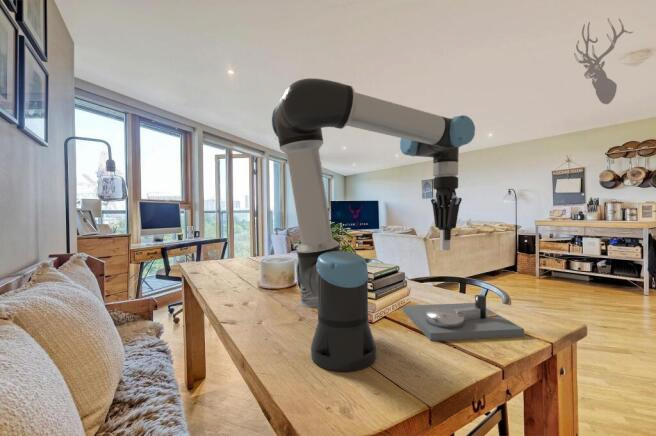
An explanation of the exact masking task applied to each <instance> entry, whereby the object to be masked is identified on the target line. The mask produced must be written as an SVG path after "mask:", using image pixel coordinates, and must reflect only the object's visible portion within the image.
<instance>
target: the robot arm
mask: <svg viewBox="0 0 656 436" xmlns="http://www.w3.org/2000/svg"><path fill="white" fill-rule="evenodd" d="M474 123H475V122H474V121H473V120H472V118H470V117H469V116H467V115H465V114H462V115H458V116H454V117H452V118H449V117H445V116H441V115H437V114H434V113H431V112H428V111H424V110H419V109H416V108H412V107H410V106H406V105H403V104H398V103H394V102H392V101H388V100H385V99H381V98H377V97H373V96H370V95H366V94H362V93H359V92H355V88H353V86H352V85H348V84H345V83H341V82H338V81H334V80H328V79H322V78H302V79H299V80H297V81H295V82H293V83H292V84H290V85H289V86H288V87H287V88H286V89H285V91H284V93H283V95H282V97H281V98H280V99H279V101H278V102H277V103H276V105H275V107H274V108H273V112H272V115H271V127H272V130H273V132H274V134H275V136H276V137H277V138H278V145H279V149H280V150H281V151H282V152H283V153H284V154H285V155H286V158H287V163H288V169H289V170H288V171H289V177H290V183H291V187H292V195H293V200H294V207H295V213H296V218H297V225H298V231H299V237H300V244H299V245H298V247H297V249H296V254H297V260H298V261H297V262H296V263H297V264H296V276H297V279H298V282H299V283H300V285H301V284H302V286H303V287H304V288H305V289H304V290H308V292H311V293H312V294H313V295H315V296H316V297H317V298H318V307H317V324H316V328H315V331H314V335H313V338H312V341H311V345H310V356H311V360H312V361H313V362H314V363H315V364H316V365H317V366H319V367H320V368H323V369H327V370H329V371H336V372H353V371H358V370H363V369H366V368H367V367H369V366H371V365H372V364H373V363H375V361H376V358H377V345H376V342H375V338H374V336H373V334H372V330H371V327H370V324H369V286H368V285H369V280H368V279H369V271H368V262H367V260H366V259H365V258H364V257H363V256H362V255H361V254H359V253H356V252H349V251H341V248H340V243H339V242H338V241H337V240H336V239H334V238H333V233H332V227H331V220H330V213H329V207H328V200H327V195H326V188H325V182H324V176H323V169H322V163H321V156H320V149H321V148H322V146H323V144H324V139H323V131H322V128H336V129H340V130H343V129H344V128H345V127H351V128H355V129H359V130H364V131H369V132H373V133H378V134H381V135H382V134H383V135H386V136H391V137H396V138H399V139H400V141H399V148H400V151H401V153H402V154H403V155H405V156H410V157H423V158H424V157H425V158H432V161H433V162H432V163H433V165H432V166H433V167H432V176H433V177H434V178H433V180H432V182H433V183H432V185H433V186H432V188H433V189H434V190H436V192H435V197H434V198H431V200H430V202H431V206H432V210H433V212H432V213H433V219H434V226H435V228H438V230H439V250H440V251H451V239H452V235H451V233H452V230H453V229H456V228H457V222H458V216H459V210H460V205H461V202H462V197H459V196H457V192H456V190H458V189H459V177H458V175H459V155H460V154H459V152H460V151H459V149H460V147H463V146H465V145H468V144H470V143H471V142H472V141H473V139H474V137H475V134H476V126H475V124H474Z"/></svg>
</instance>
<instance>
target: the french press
mask: <svg viewBox="0 0 656 436" xmlns="http://www.w3.org/2000/svg"><path fill="white" fill-rule="evenodd" d="M297 304H298V306H300V307H303V308H318V298H317V297H316V296H315V295H313V294H312V293H311V292H309V291H308V290H306V289H305V288H304V287H303V286H302V284H301V283H300V300H299V302H298V303H297Z"/></svg>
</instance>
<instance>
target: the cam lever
mask: <svg viewBox="0 0 656 436" xmlns="http://www.w3.org/2000/svg"><path fill="white" fill-rule="evenodd" d="M474 299H475V301H474V303H475V307H467V308H459V309H452V308H445V307H434V308H429V309H427V310H426V321H427V322H428V323H429V324H431V325H433V326H436V327H441V328H449V329H454V328H460V327H463V326H464V320H472V319H479V318H482V319H484V318H486V308H487V296H485V295H483V294H476V295H474Z"/></svg>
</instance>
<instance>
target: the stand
mask: <svg viewBox="0 0 656 436" xmlns="http://www.w3.org/2000/svg"><path fill="white" fill-rule="evenodd" d="M402 306H403V307H402V308H403V309H402V310H403V314H404V315H406V316H407V317H408V318H409V319H410V320H411V321H412V323H413V324H414V325H415V326H416V327H417V329H419V330H420V332H422V333H423V335H425V336H426V338H427V339H428V340H429V341H430V342H435V341H436V342H437V341H456V340H457V341H458V340H459V341H460V340H477V339H496V338H497V339H500V338H518V337H519V338H521V337H525V329H524V328H523V327H522V326H520V325H518V324H516V323H514V322H512V321H510V320H509V319H507V318H505V317H503V316H502V315H499V314H498V313H497V312H494V311H492V310H491V309H489V308H488V307H486V318H484V319H482V318H479V319H472V320H464V326H463V327H460V328H454V329H449V328H441V327H436V326H433V325H431V324H429V323H428V322H427V321H426V310H427V309H429V308H434V307H445V308H452V309H459V308H467V307H475V302H468V303H467V302H464V303H463V302H462V303H437V304H436V303H435V304H417V305H416V304H413V305H411V304H409V305H402Z"/></svg>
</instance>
